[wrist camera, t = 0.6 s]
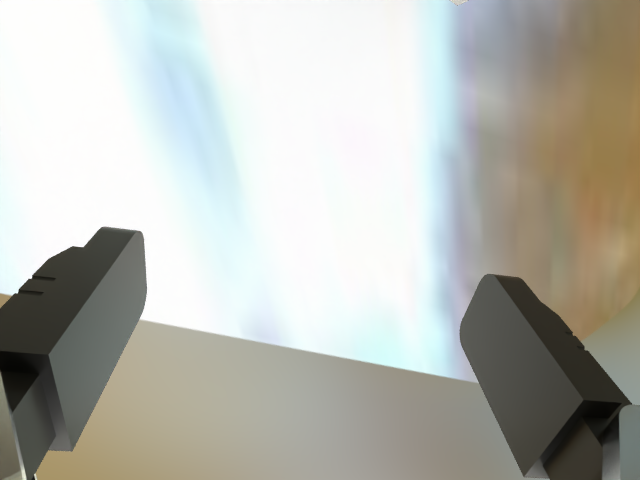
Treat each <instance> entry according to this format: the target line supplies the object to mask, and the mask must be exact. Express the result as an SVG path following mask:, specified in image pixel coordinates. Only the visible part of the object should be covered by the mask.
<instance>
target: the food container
mask: <svg viewBox="0 0 640 480" xmlns="http://www.w3.org/2000/svg"><path fill="white" fill-rule="evenodd" d="M450 1H452V2H453V3H454V4H456V5H457V6H458V5H460V4H462V3H464V2H467V1H468V0H450Z"/></svg>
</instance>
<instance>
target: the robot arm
mask: <svg viewBox="0 0 640 480" xmlns="http://www.w3.org/2000/svg"><path fill="white" fill-rule="evenodd" d="M146 294H147V283H146V266H145V250H144V238H143V234H142V232H141V231H136V230H128V229H119V228H111V227H102V228H100V229H99V230H98V231H97V233H96V234H95V235H94V236H93V237H92V238H91V239H90V241H89V242H88V243H87V244H86V245H85V246H84V247H74V246H72V247H70V248H69V249H67V250H65V251H63V252H61V253H59V254H57V255H55V256H53V257H51V258H49V259H48V260H47V261H46V262H45V263H44V264H43V265H42V266H41V267H40V268H39V269H38V270H37V271H36V272H35V273H34V274H33V275H32V279H28V280H27V281H26V283H25V284H24V285H23V286H22V287H21V288H20V289H19V292H18V294H16V293H15V294H14V295H13V296H12V297H11V298H10V299H9V300H8V301H7V302H6V303H5V304H4V305H3V306H2V307H1V308H0V480H37V477H36V474H35V473H36V471H37V469H38V467H39V465H40V463H41V462H42V460H43V458H44V456H45V455H46V453H47V451H48V450H54V451H73V449H74V447H75V445H76V443H77V441H78V439H79V437H80V435H81V433H82V431H83V429H84V427H85V425H86V423H87V421H88V419H89V417H90V415H91V413H92V411H93V409H94V407H95V405H96V403H97V401H98V399H99V397H100V395H101V394H102V392H103V389H104V388H105V386H106V383H107V382H108V380H109V378H110V376H111V374H112V372H113V370H114V368H115V366H116V364H117V362H118V360H119V358H120V356H121V354H122V351H123V350H124V348H125V346H126V344H127V342H128V340H129V338H130V336H131V334H132V332H133V330H134V328H135V326H136V324H137V322H138V320H139V318H140V316H141V314H142V312H143V309H144V305H145V301H146ZM572 333H573V332H572V331H571V330H570V329H569V327H568V326H567V325H566V324H565V323H564V321H563V320H562V319H561V318H560V317H559V315H557V314H556V313H555V312H553V311H552V310H551V309H550V308H548V307H547V306H546V305H544V304H543V303H542V302H541V301H540V300H539V299H538V298H537V297H536V295H535V294H534V293H533V292H532V290H531V289H530V288H529V287H528V286H527V284H526V283H525V282H524V281H523V280H522V279H521V278H518V277H511V276H503V275H494V274H487V275H485V276H484V277H483V278H482V279H481V281H480V283H479V285H478V287H477V289H476V291H475V294H474V296H473V298H472V300H471V302H470V304H469V306H468V309H467V311H466V313H465V315H464V317H463V319H462V322H461V326H460V341H461V345H462V348H463V350H464V352H465V354H466V356H467V358H468V360H469V362H470V365H471V367H472V369H473V371H474V373H475V375H476V377H477V379H478V381H479V384H480V386H481V388H482V390H483V392H484V394H485V396H486V398H487V400H488V403H489V405H490V407H491V409H492V411H493V413H494V415H495V417H496V419H497V421H498V423H499V426H500V428H501V430H502V432H503V434H504V436H505V438H506V441H507V443H508V445H509V447H510V449H511V451H512V453H513V455H514V457H515V460H516V462H517V464H518V466H519V468H520V470H521V472H522V474H523V476H524V477H530V478H549V479H550V480H640V405H632V403H631V402H630V401H629V400H628V398H627V397H626V396H625V395H624V394H623V392H622V391H621V390H620V389H619V388H618V387H617V385H616V384H615V383H614V382H613V381H612V379H611V378H610V377H609V376H608V374H607V373H606V372H605V371H604V370H603V368H602V367H601V366H600V365H599V364H598V362H597V361H596V360H595V359H594V357H593V356H592V355H591V354H590V353H589V351H585V350H584V345H583V344H582V343H581V342H580V341H579V339H578V338H577V337H576V336H573V335H572Z"/></svg>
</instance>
